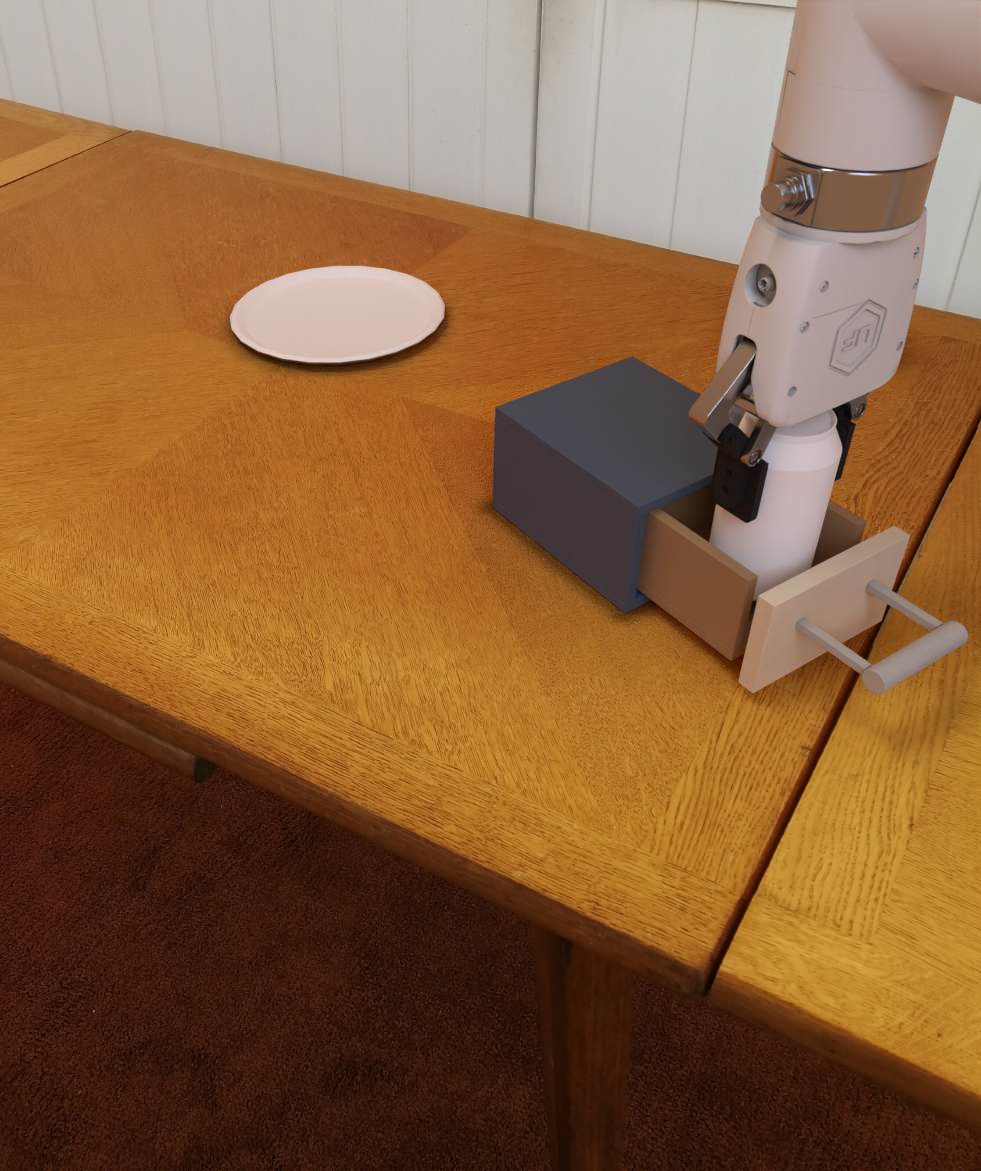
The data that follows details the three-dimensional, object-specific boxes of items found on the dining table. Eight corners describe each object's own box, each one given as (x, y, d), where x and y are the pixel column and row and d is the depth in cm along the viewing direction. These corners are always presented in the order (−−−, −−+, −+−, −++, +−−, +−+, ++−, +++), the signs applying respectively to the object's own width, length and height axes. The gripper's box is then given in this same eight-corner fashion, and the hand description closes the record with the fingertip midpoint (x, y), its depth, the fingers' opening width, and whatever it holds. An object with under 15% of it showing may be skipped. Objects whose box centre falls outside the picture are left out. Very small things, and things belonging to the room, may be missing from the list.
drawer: (969, 678, 64) (1007, 590, 60) (838, 761, 60) (868, 672, 55) (724, 517, 77) (740, 435, 73) (600, 575, 73) (610, 491, 68)
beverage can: (775, 542, 71) (814, 380, 64) (824, 602, 67) (871, 434, 59) (687, 557, 70) (715, 394, 63) (729, 618, 66) (766, 450, 58)
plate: (371, 259, 116) (371, 247, 116) (488, 329, 103) (489, 317, 102) (195, 311, 108) (193, 299, 107) (297, 396, 94) (295, 383, 93)
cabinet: (761, 546, 76) (785, 441, 70) (624, 614, 71) (639, 507, 65) (621, 454, 86) (632, 355, 80) (491, 507, 81) (494, 406, 75)
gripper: (778, 253, 47) (714, 576, 58) (1025, 168, 54) (924, 472, 65) (657, 202, 52) (620, 509, 63) (897, 130, 59) (824, 419, 70)
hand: (775, 487), depth 64 cm, fingers closed on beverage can, 6 cm apart
